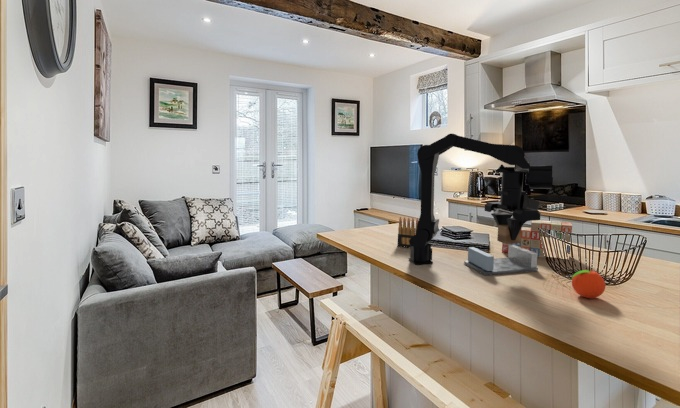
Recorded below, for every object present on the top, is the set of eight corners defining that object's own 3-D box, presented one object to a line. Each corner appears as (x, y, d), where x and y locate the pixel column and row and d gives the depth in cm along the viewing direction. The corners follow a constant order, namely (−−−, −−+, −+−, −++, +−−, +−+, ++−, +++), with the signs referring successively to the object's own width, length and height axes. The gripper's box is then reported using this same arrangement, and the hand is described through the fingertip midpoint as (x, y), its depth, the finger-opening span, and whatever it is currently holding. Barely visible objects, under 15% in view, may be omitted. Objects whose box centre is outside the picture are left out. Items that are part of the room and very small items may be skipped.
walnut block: (505, 243, 104) (506, 227, 103) (497, 240, 108) (498, 224, 107) (520, 243, 105) (521, 226, 104) (512, 239, 109) (512, 224, 108)
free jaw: (487, 271, 106) (487, 256, 105) (467, 260, 116) (468, 247, 116) (493, 270, 106) (493, 256, 105) (473, 260, 117) (473, 247, 116)
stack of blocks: (501, 252, 130) (502, 220, 128) (503, 248, 135) (504, 217, 133) (570, 260, 118) (572, 225, 117) (569, 256, 124) (571, 221, 122)
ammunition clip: (397, 246, 142) (397, 217, 140) (399, 245, 143) (399, 216, 142) (422, 249, 136) (423, 219, 134) (424, 248, 138) (424, 218, 136)
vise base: (485, 275, 105) (485, 258, 104) (464, 263, 117) (464, 247, 116) (537, 271, 108) (538, 253, 108) (512, 260, 120) (512, 244, 119)
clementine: (578, 303, 85) (580, 275, 84) (560, 292, 92) (562, 266, 91) (611, 302, 85) (613, 274, 84) (590, 291, 92) (593, 265, 91)
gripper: (559, 190, 96) (555, 244, 99) (515, 184, 115) (513, 230, 117) (523, 191, 95) (519, 246, 97) (484, 185, 113) (482, 232, 115)
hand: (508, 238), depth 106 cm, fingers closed on walnut block, 4 cm apart
